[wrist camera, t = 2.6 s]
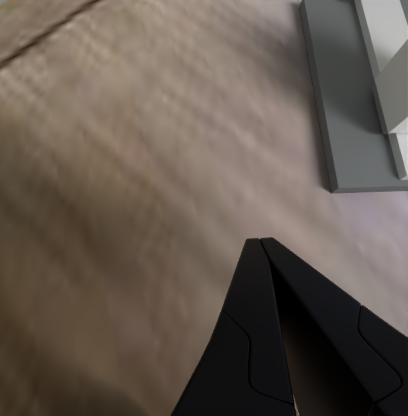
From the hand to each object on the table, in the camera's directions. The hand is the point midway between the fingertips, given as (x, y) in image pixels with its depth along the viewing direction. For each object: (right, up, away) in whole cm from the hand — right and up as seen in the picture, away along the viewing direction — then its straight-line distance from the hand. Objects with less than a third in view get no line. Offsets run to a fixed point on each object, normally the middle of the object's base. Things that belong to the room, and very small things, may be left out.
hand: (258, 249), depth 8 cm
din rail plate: (+15, +12, +15) cm, 25 cm away
